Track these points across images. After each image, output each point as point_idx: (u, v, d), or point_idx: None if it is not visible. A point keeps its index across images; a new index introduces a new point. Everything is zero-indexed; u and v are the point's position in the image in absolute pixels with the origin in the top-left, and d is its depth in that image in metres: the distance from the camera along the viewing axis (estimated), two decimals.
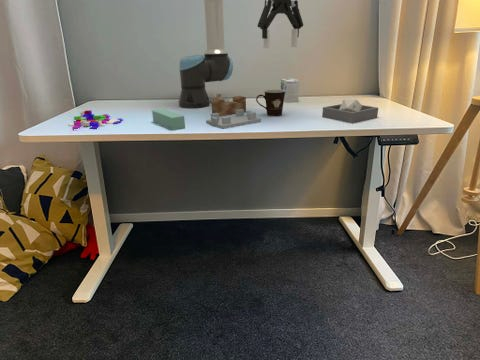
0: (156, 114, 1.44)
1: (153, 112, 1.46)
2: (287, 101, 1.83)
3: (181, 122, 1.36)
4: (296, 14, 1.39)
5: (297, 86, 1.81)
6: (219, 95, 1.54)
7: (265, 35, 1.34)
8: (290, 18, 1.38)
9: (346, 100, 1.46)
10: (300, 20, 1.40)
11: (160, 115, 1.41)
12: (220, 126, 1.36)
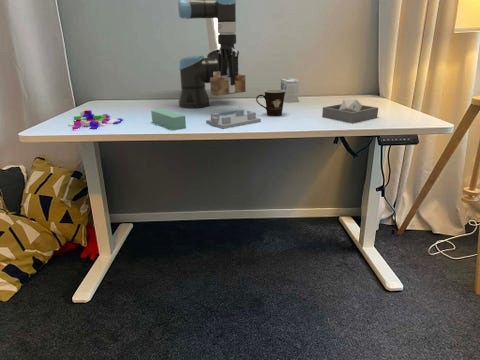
0: (156, 114, 1.44)
1: (152, 112, 1.46)
2: (287, 101, 1.83)
3: (182, 122, 1.36)
4: None
5: (297, 86, 1.81)
6: (218, 73, 1.51)
7: None
8: None
9: (346, 100, 1.46)
10: (232, 69, 1.49)
11: (160, 115, 1.41)
12: (220, 126, 1.36)
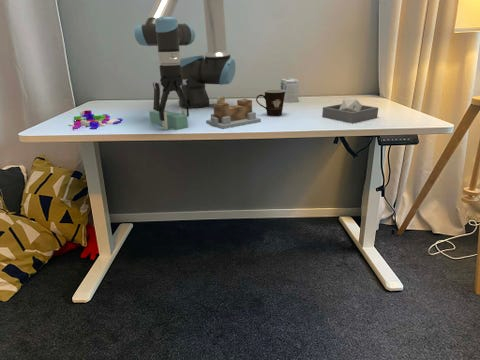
0: (155, 114, 1.43)
1: (150, 113, 1.45)
2: (287, 101, 1.83)
3: (184, 121, 1.37)
4: (186, 93, 1.36)
5: (297, 86, 1.81)
6: (222, 98, 1.38)
7: (162, 117, 1.33)
8: (180, 96, 1.35)
9: (346, 100, 1.46)
10: (190, 99, 1.37)
11: None
12: (220, 126, 1.36)
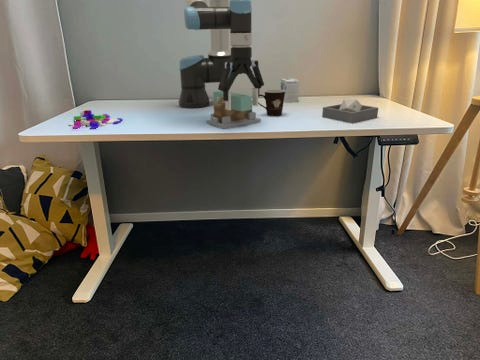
0: (219, 95, 1.43)
1: (214, 93, 1.45)
2: (287, 101, 1.83)
3: (248, 102, 1.35)
4: (256, 73, 1.36)
5: (297, 86, 1.81)
6: (222, 98, 1.38)
7: (226, 98, 1.31)
8: (250, 78, 1.36)
9: (346, 100, 1.46)
10: (260, 79, 1.37)
11: None
12: (220, 126, 1.36)
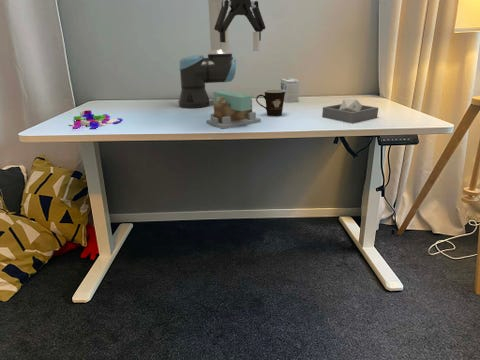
0: (219, 95, 1.43)
1: (214, 94, 1.45)
2: (287, 101, 1.83)
3: (248, 102, 1.35)
4: (257, 16, 1.29)
5: (297, 86, 1.81)
6: (222, 98, 1.38)
7: (223, 38, 1.24)
8: (250, 20, 1.28)
9: (346, 100, 1.46)
10: (262, 22, 1.30)
11: (224, 96, 1.40)
12: (220, 126, 1.36)
